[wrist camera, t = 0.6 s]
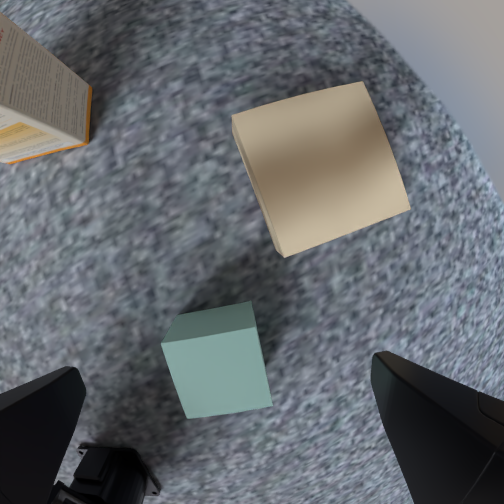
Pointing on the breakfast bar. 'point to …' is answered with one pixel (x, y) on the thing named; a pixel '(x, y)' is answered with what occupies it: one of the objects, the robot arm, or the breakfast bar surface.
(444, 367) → the breakfast bar surface
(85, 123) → the supplement box
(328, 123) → the beech block
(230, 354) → the teal cube
